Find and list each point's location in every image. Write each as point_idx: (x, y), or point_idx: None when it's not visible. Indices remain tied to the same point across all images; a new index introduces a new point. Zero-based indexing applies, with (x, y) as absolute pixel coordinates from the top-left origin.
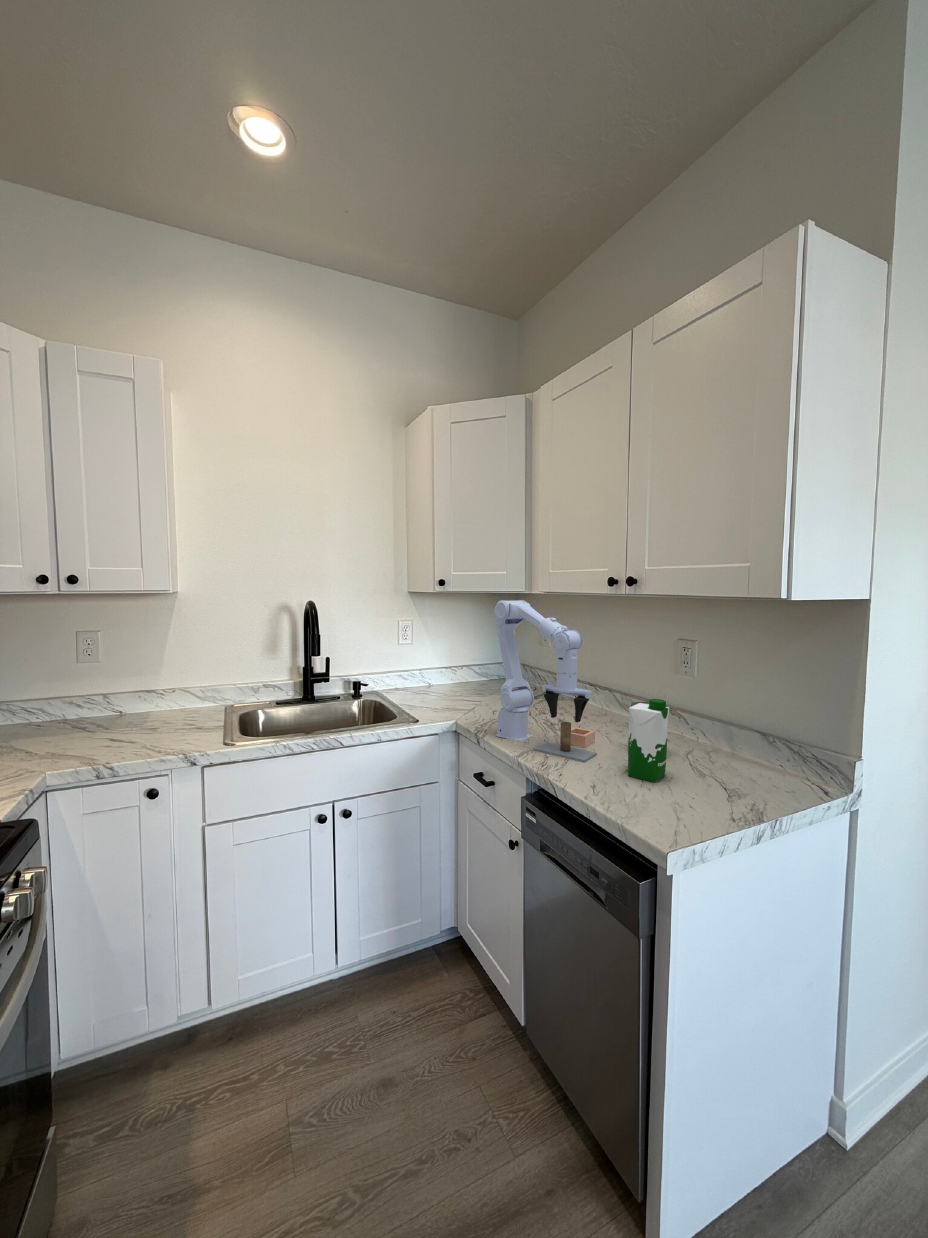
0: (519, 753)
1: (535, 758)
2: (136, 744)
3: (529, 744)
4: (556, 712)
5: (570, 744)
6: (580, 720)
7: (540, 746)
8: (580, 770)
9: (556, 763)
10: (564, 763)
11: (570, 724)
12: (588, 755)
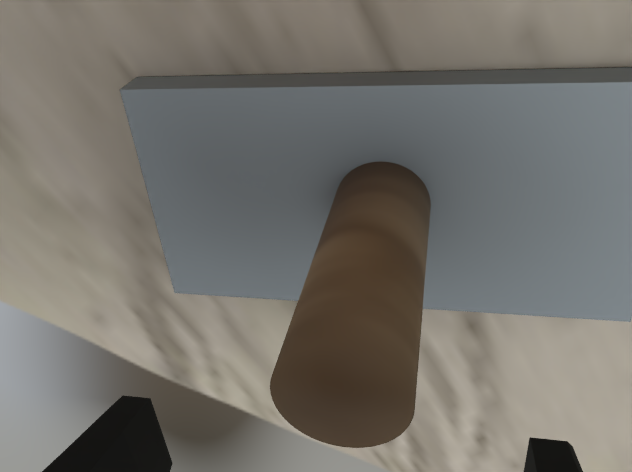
0: (145, 334)
1: (274, 357)
2: None
3: (31, 141)
4: (119, 452)
5: (427, 233)
6: (574, 460)
7: (178, 237)
8: (628, 398)
9: (429, 368)
10: (475, 345)
11: (413, 404)
12: (629, 209)
